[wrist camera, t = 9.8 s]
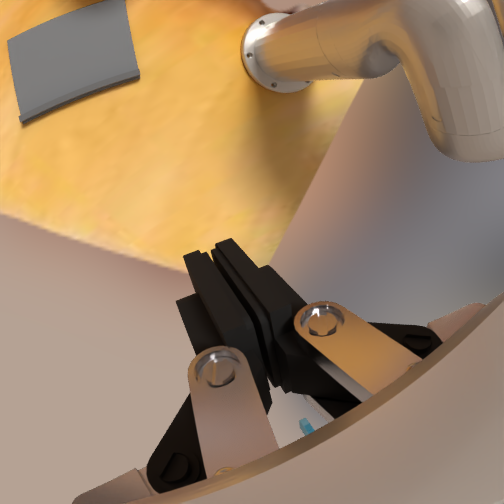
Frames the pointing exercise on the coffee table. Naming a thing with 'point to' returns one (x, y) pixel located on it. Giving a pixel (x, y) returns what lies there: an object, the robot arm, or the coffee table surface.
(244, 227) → the coffee table surface
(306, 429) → the data package
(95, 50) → the slate mat
